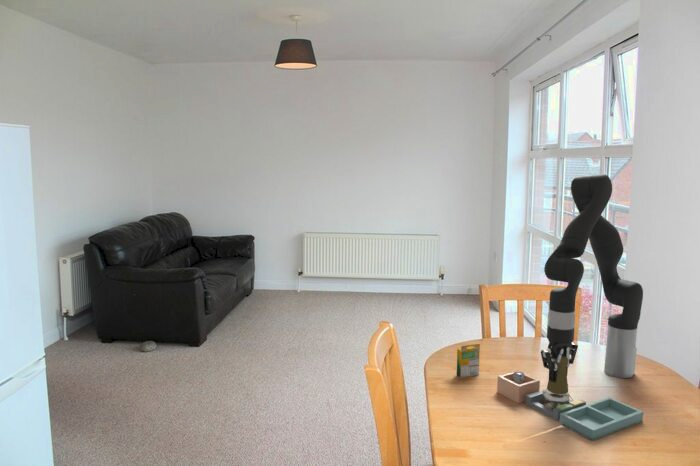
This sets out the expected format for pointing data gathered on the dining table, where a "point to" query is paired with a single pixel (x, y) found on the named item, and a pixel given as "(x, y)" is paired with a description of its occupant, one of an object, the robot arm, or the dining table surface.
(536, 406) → the checker cradle
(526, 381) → the cup
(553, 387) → the olive gourd
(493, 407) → the dining table surface
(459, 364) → the crayon box
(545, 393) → the silver domed disc
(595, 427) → the teal divided tray
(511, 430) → the dining table surface
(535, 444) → the dining table surface
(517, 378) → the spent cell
